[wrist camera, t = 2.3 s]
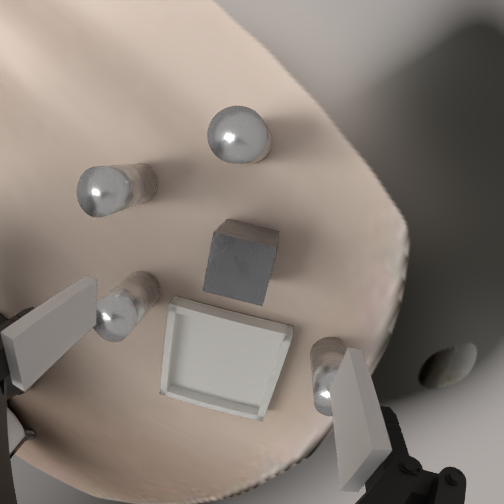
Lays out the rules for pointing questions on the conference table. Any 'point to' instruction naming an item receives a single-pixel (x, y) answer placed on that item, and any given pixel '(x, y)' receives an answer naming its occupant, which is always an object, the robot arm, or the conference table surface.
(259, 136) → the cylinder
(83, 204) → the cylinder
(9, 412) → the coffee press
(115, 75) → the conference table surface
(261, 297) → the slate cube
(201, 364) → the tray
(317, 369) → the cylinder
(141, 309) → the spacer
